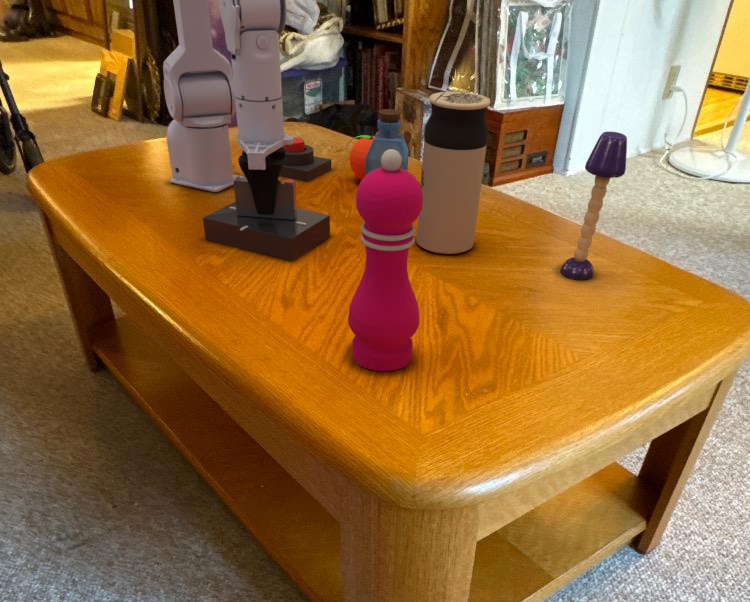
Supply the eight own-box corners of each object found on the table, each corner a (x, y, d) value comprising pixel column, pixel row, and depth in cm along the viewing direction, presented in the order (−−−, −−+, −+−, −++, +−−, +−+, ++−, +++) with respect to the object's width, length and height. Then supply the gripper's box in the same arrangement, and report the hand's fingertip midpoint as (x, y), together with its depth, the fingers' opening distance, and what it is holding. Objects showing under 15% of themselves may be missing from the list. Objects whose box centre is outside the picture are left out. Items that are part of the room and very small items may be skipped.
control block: (257, 171, 116) (256, 149, 114) (283, 160, 121) (281, 138, 119) (307, 182, 113) (307, 159, 111) (331, 169, 118) (331, 148, 116)
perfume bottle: (406, 190, 111) (411, 108, 103) (403, 203, 107) (408, 118, 99) (368, 188, 112) (371, 105, 104) (364, 200, 107) (366, 115, 99)
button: (279, 152, 114) (278, 140, 113) (290, 147, 117) (290, 136, 116) (297, 155, 113) (297, 144, 112) (308, 150, 116) (308, 139, 115)
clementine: (336, 182, 113) (336, 136, 108) (353, 171, 118) (354, 126, 113) (381, 190, 111) (382, 143, 106) (396, 178, 116) (398, 132, 111)
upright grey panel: (236, 215, 92) (233, 178, 89) (239, 211, 93) (236, 174, 90) (294, 220, 91) (293, 183, 88) (297, 216, 92) (295, 179, 89)
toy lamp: (598, 270, 90) (635, 131, 79) (595, 284, 87) (633, 141, 75) (562, 264, 91) (593, 126, 80) (557, 277, 88) (589, 136, 76)
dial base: (200, 242, 92) (197, 218, 90) (251, 215, 100) (249, 193, 98) (287, 264, 88) (286, 240, 86) (333, 234, 96) (333, 211, 94)
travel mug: (480, 240, 96) (500, 96, 84) (461, 260, 91) (480, 108, 79) (428, 229, 99) (441, 88, 87) (407, 248, 93) (417, 99, 81)
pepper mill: (345, 339, 74) (347, 137, 60) (411, 339, 74) (427, 138, 61) (349, 375, 68) (352, 161, 55) (420, 374, 69) (440, 162, 55)
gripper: (287, 111, 77) (293, 231, 86) (294, 84, 88) (298, 193, 97) (225, 109, 77) (237, 230, 86) (240, 83, 88) (249, 192, 97)
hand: (266, 210), depth 92 cm, fingers closed on upright grey panel, 2 cm apart
